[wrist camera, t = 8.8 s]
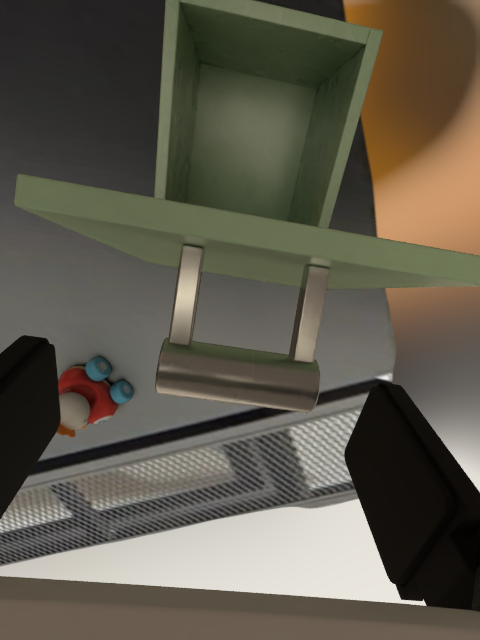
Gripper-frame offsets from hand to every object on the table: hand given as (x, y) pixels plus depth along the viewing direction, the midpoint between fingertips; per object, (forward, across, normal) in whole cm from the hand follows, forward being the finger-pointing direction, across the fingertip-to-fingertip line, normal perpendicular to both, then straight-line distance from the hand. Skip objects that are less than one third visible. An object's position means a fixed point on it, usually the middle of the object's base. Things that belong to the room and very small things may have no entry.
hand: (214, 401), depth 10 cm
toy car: (+30, +15, +25) cm, 42 cm away
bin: (+31, -1, -7) cm, 31 cm away
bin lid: (+9, -1, -2) cm, 9 cm away
